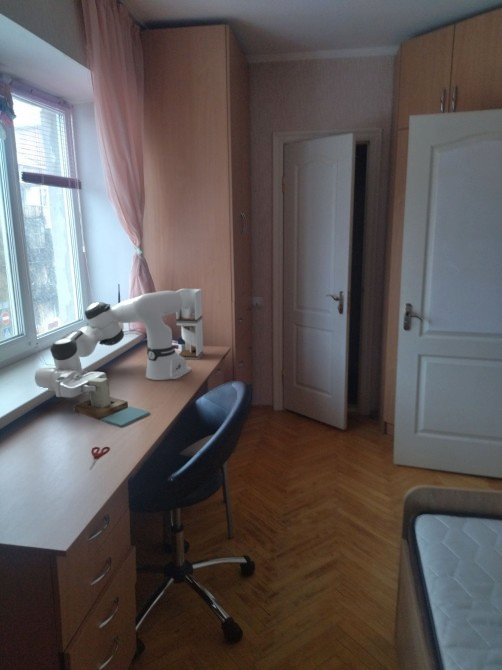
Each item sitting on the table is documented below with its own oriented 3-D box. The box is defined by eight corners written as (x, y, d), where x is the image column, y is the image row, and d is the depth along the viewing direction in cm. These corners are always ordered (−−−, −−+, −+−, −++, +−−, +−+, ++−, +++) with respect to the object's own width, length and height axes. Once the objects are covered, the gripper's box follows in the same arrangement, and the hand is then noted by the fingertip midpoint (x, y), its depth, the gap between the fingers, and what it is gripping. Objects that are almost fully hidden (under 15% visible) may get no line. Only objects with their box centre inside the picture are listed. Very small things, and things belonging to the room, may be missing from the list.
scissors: (110, 449, 156) (110, 446, 155) (99, 471, 142) (99, 468, 142) (93, 449, 155) (93, 446, 155) (80, 471, 142) (80, 468, 142)
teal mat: (130, 408, 187) (130, 406, 187) (149, 413, 182) (149, 411, 182) (102, 420, 176) (101, 418, 176) (121, 427, 170) (121, 425, 170)
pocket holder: (103, 400, 195) (102, 394, 195) (128, 407, 188) (127, 401, 187) (74, 411, 184) (73, 405, 183) (99, 420, 176) (98, 413, 176)
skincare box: (111, 408, 186) (109, 378, 184) (104, 413, 182) (101, 382, 180) (98, 406, 189) (95, 376, 186) (90, 410, 185) (87, 380, 182)
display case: (183, 353, 263) (181, 288, 255) (203, 353, 261) (201, 289, 253) (177, 359, 252) (175, 291, 244) (197, 359, 250) (196, 292, 242)
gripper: (89, 381, 198) (118, 385, 193) (53, 398, 179) (84, 403, 175) (88, 366, 196) (117, 370, 192) (51, 382, 178) (82, 386, 173)
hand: (101, 386), depth 183 cm, fingers open, 4 cm apart
